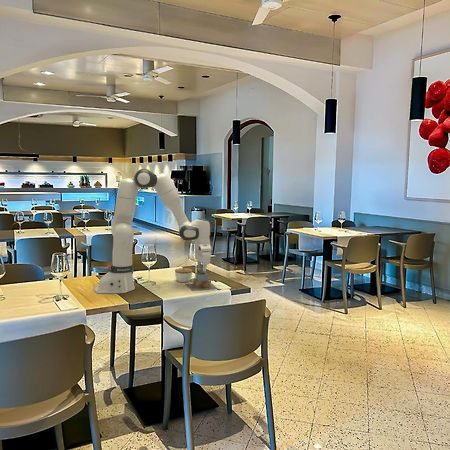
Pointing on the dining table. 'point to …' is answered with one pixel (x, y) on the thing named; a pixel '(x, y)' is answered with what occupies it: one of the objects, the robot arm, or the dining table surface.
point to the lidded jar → (183, 274)
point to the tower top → (201, 277)
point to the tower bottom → (201, 284)
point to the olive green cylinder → (201, 269)
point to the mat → (201, 288)
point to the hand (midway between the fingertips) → (201, 269)
